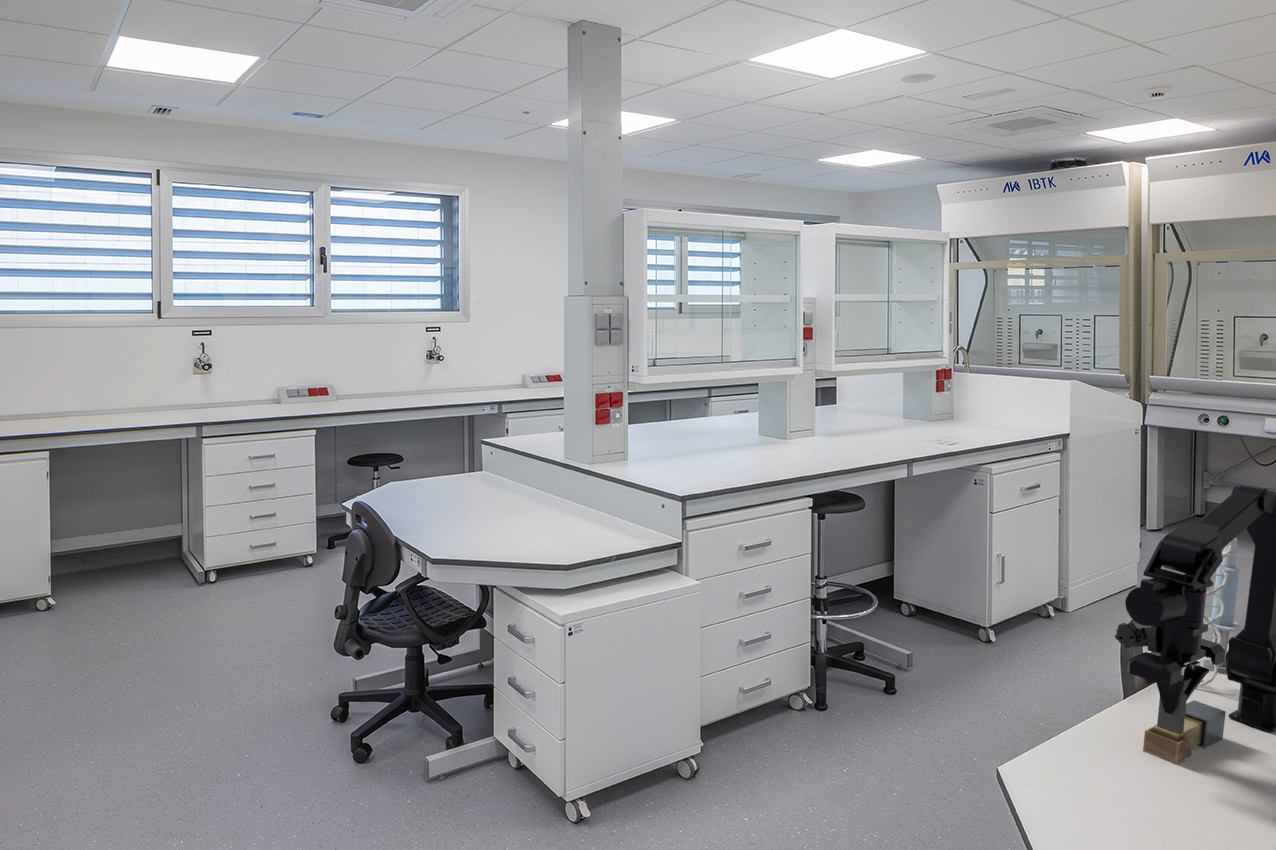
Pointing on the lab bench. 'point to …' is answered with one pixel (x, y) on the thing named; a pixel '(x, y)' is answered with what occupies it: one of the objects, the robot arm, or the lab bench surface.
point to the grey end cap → (1208, 721)
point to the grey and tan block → (1179, 724)
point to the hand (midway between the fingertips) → (1171, 711)
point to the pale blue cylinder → (1229, 599)
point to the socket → (1167, 747)
